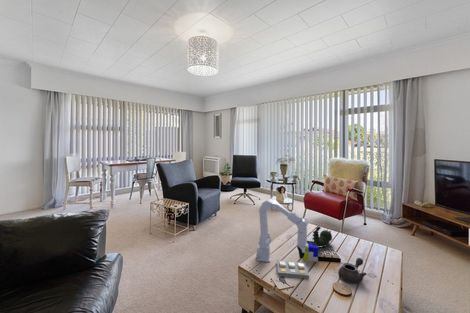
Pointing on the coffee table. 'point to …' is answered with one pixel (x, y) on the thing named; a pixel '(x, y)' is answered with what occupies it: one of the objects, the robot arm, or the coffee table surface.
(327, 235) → the green cactus plant
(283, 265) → the button left
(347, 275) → the teapot
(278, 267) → the button board
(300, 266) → the button right
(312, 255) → the puzzle toy
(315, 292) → the coffee table surface
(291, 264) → the button middle
